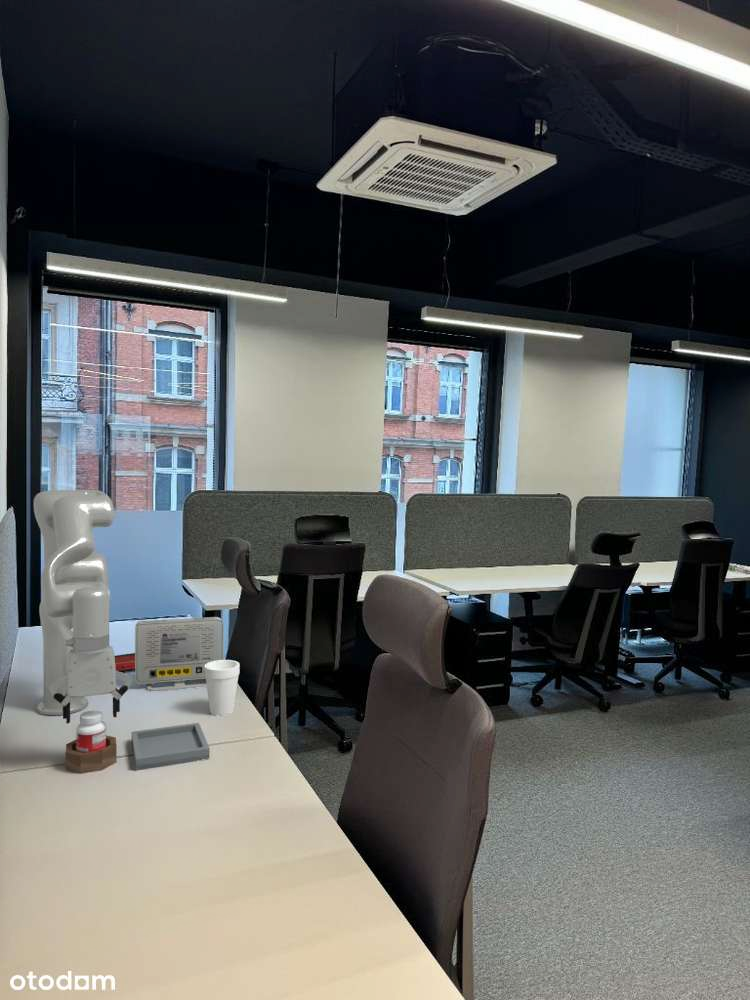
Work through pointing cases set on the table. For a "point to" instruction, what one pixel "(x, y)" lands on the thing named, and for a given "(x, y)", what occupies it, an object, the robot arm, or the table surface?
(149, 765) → the tray
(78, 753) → the holder ring
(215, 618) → the network device
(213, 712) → the foam cup
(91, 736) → the pill bottle
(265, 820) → the table surface
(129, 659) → the binder
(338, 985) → the table surface
